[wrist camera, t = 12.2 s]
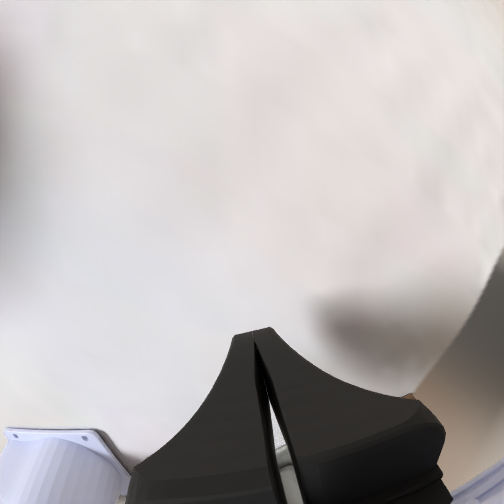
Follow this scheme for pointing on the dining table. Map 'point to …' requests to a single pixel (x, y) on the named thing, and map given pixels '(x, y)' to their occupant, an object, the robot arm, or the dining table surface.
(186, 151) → the dining table surface
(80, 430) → the robot arm
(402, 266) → the dining table surface
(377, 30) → the dining table surface
